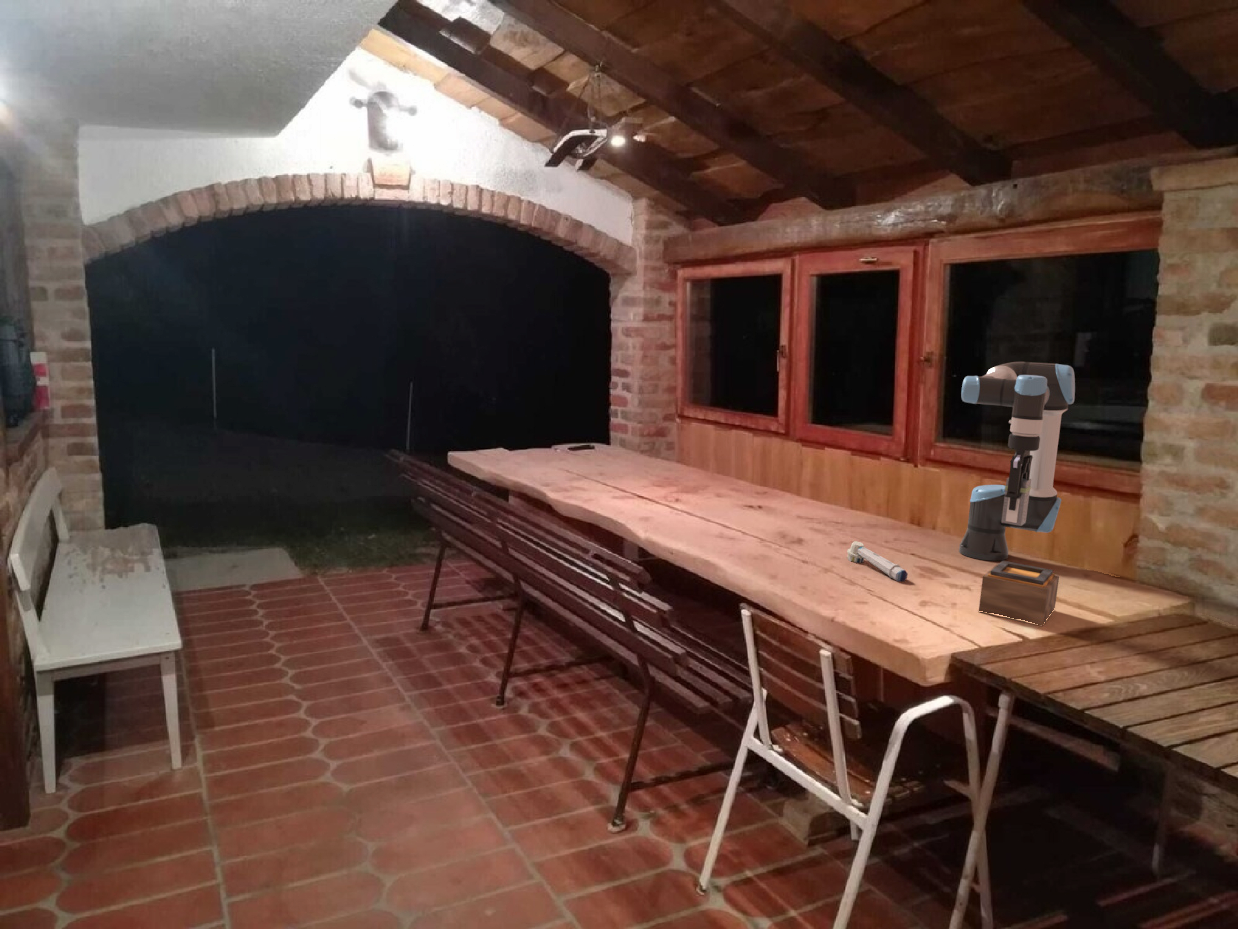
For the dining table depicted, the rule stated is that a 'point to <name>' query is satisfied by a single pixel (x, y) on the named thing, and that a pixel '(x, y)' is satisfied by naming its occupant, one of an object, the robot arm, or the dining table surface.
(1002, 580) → the walnut stand
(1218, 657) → the dining table surface
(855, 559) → the white plastic rod
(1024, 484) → the steel column
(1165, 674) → the dining table surface
